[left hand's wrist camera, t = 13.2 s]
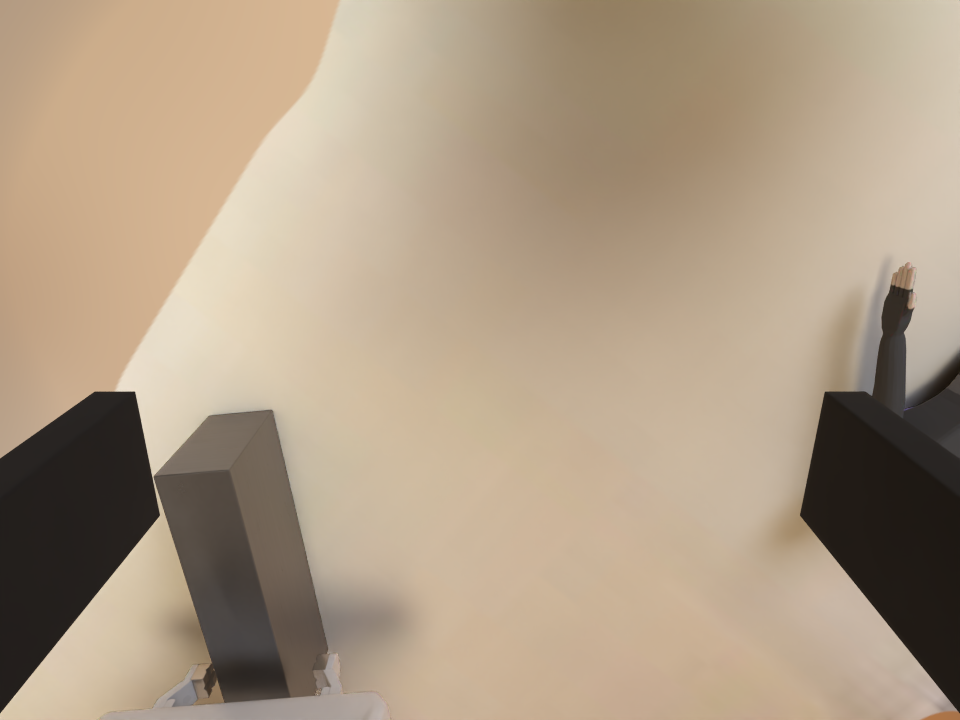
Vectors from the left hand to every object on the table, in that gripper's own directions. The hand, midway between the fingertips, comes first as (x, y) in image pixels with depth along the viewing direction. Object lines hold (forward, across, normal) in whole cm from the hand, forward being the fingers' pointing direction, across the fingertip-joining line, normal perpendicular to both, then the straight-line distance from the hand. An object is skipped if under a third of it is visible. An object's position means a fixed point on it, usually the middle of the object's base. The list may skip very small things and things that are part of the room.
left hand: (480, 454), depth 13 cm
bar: (+32, -16, -26) cm, 44 cm away
